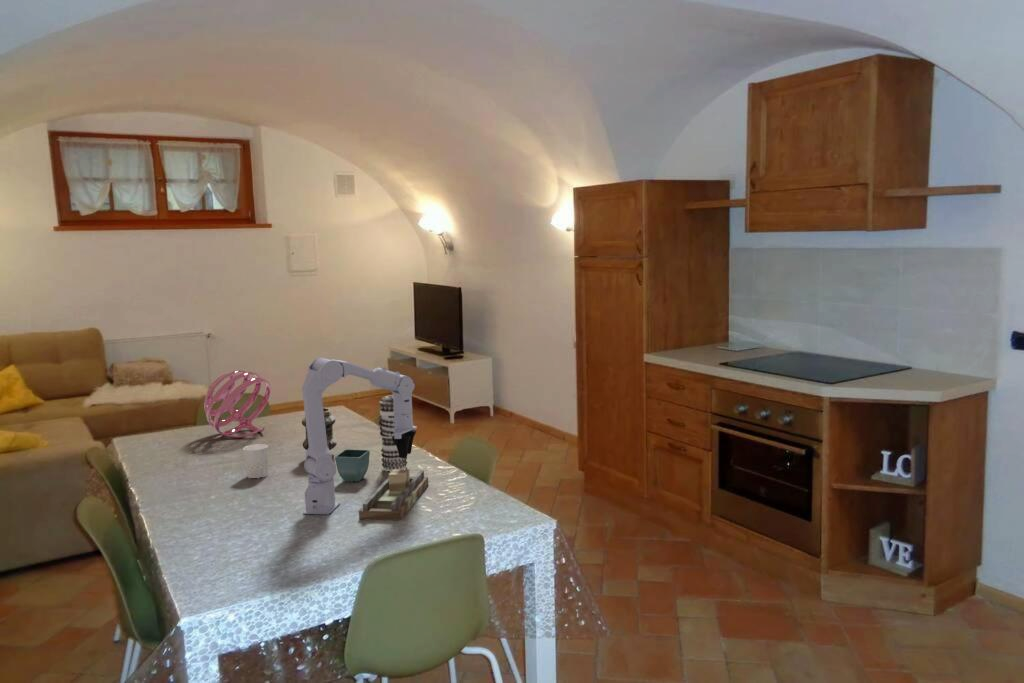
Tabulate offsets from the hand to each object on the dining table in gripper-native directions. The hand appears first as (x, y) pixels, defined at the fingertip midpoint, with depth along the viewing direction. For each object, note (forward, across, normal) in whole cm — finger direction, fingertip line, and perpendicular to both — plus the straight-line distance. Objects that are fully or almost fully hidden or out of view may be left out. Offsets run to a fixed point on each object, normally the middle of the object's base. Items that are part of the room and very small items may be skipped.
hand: (405, 455), depth 242 cm
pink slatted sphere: (+11, +66, +90) cm, 112 cm away
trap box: (+10, -12, 0) cm, 16 cm away
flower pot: (+11, +8, +20) cm, 24 cm away
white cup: (+11, +10, +55) cm, 57 cm away
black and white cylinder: (+11, +20, +10) cm, 25 cm away
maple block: (+8, -8, 0) cm, 11 cm away
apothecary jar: (+11, +32, +41) cm, 53 cm away
